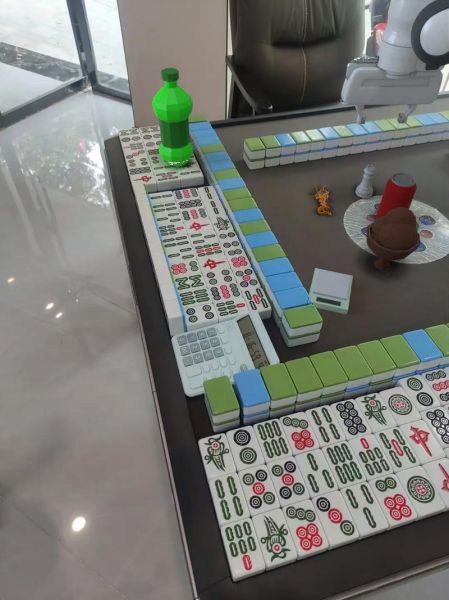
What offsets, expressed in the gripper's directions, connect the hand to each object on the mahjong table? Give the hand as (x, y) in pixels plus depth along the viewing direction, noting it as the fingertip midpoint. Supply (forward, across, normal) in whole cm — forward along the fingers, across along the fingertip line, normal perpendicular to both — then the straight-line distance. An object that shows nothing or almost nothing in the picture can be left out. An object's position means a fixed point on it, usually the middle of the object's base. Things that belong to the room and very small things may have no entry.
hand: (380, 122), depth 97 cm
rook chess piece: (+21, +2, +3) cm, 22 cm away
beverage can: (+21, +5, -9) cm, 24 cm away
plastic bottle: (+21, -48, +21) cm, 57 cm away
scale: (+21, -15, -33) cm, 42 cm away
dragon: (+21, -10, -1) cm, 24 cm away
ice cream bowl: (+21, -2, -26) cm, 33 cm away
